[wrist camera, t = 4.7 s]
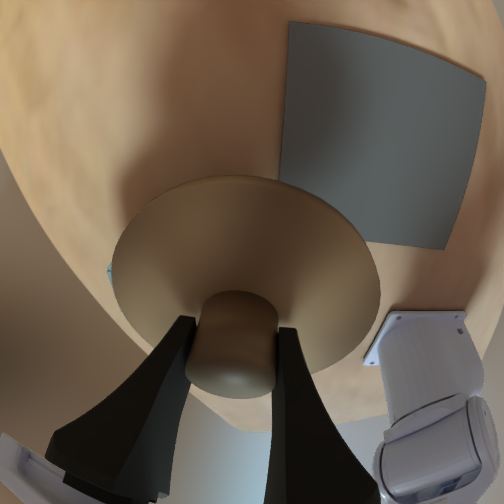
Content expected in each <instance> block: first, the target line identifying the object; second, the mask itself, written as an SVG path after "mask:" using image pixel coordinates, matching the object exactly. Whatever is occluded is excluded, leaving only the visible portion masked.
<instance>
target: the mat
mask: <svg viewBox="0 0 504 504" xmlns="http://www.w3.org/2000/svg"><path fill="white" fill-rule="evenodd" d="M485 92H486V81H484V80H482V79H480V78H479V77H477V76H475V75H473V74H471V73H469V72H467V71H465V70H463V69H461V68H459V67H457V66H455V65H453V64H451V63H449V62H446V61H444V60H442V59H440V58H437V57H435V56H432V55H430V54H427V53H425V52H422V51H420V50H417V49H414V48H411V47H408V46H405V45H402V44H399V43H396V42H393V41H390V40H386V39H383V38H379V37H376V36H372V35H368V34H364V33H360V32H355V31H351V30H346V29H341V28H335V27H330V26H323V25H317V24H309V23H301V22H289V41H288V60H287V77H286V93H285V109H284V123H283V137H282V150H281V163H280V175H279V181H281V182H284V183H287V184H290V185H293V186H296V187H299V188H302V189H304V190H306V191H308V192H310V193H312V194H314V195H316V196H318V197H320V198H321V199H323V200H324V201H326V202H327V203H329V204H330V205H331V206H333V207H334V208H336V209H337V210H338V211H340V212H341V213H342V214H343V215H344V216H345V217H346V218H347V219H348V220H349V221H350V222H351V223H352V224H353V225H354V227H355V228H356V229H357V231H358V232H359V233H360V235H361V236H362V237H363V239H364V241H368V242H378V243H387V244H396V245H405V246H413V247H422V248H430V249H438V250H444V249H445V247H446V244H447V242H448V239H449V237H450V234H451V231H452V229H453V226H454V223H455V221H456V218H457V215H458V212H459V209H460V206H461V203H462V200H463V197H464V194H465V191H466V187H467V184H468V180H469V177H470V173H471V169H472V165H473V161H474V157H475V153H476V148H477V144H478V139H479V133H480V128H481V122H482V116H483V109H484V101H485Z"/></svg>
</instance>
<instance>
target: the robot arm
mask: <svg viewBox="0 0 504 504" xmlns="http://www.w3.org/2000/svg"><path fill="white" fill-rule="evenodd" d="M466 315H467V314H466V312H465V311H392V312H390V313H389V314H388V316H387V318H386V320H385V322H384V324H383V326H382V328H381V330H380V331H379V333H378V335H377V337H376V339H375V341H374V342H373V344H372V346H371V348H370V349H369V351H368V353H367V355H366V356H365V358H364V360H363V365H365V366H371V365H380V370H381V375H382V380H383V385H384V390H385V396H386V402H387V408H388V414H389V420H390V427H391V428H390V429H388V430H386V431H384V441H383V442H381V443H380V444H379V446H378V448H377V450H376V452H375V456H374V459H373V463H372V476H373V477H372V476H371V475H370V474H369V473H368V472H367V471H366V469H365V468H364V467H363V466H362V465H361V463H360V462H359V461H358V459H357V458H356V457H355V455H354V454H353V453H352V451H351V450H350V448H349V447H348V445H347V444H346V442H345V441H344V439H342V437H341V435H340V433H339V432H338V430H337V429H336V427H335V425H334V423H333V422H332V420H331V418H330V416H329V414H328V412H327V411H326V409H325V407H324V405H323V403H322V400H321V398H320V396H319V394H318V392H317V390H316V387H315V385H314V382H313V380H312V377H311V375H310V372H309V369H308V367H307V364H306V361H305V358H304V355H303V352H302V348H301V345H300V341H299V337H298V332H297V329H296V328H290V327H279V330H278V339H277V368H276V384H275V387H274V389H273V390H272V440H271V450H270V459H269V468H268V476H267V484H266V491H265V498H264V504H381V497H380V493H381V495H382V496H383V497H384V499H385V501H386V503H387V504H477V503H476V502H477V501H478V500H479V499H480V497H481V496H482V495H483V494H484V493H485V492H486V490H487V489H488V488H489V487H490V486H491V484H492V483H493V482H494V480H495V479H496V477H497V474H498V470H499V467H500V453H499V449H498V439H497V433H496V429H495V424H494V421H493V418H492V415H491V412H490V409H489V407H488V405H487V403H486V401H485V400H484V399H483V398H481V397H478V396H479V395H480V393H481V390H482V387H483V382H484V370H483V365H482V362H481V360H480V357H479V355H478V352H477V350H476V348H475V345H474V343H473V341H472V339H471V336H470V334H469V332H468V330H467V328H466V326H465V324H464V322H463V320H464V319H465V317H466ZM196 329H197V325H196V318H195V317H191V316H185V315H180V316H178V318H177V319H176V321H175V322H174V323H173V325H172V326H171V328H170V329H169V330H168V332H167V333H166V334H165V336H164V337H163V338H162V340H161V341H160V342H159V343H158V345H157V346H156V347H155V348H154V350H153V351H152V352H151V353H150V355H149V356H148V357H147V358H146V359H145V360H144V361H143V363H142V364H141V365H140V366H139V367H138V368H137V369H136V370H135V371H134V372H133V373H132V375H130V376H129V377H128V378H127V379H126V380H125V381H124V382H123V383H122V384H121V385H120V386H119V387H118V388H117V389H116V390H115V391H113V392H112V393H111V394H110V395H109V396H108V397H106V398H105V399H104V400H103V401H101V402H100V403H99V404H98V405H96V406H95V407H93V408H92V409H91V410H89V411H88V412H86V413H85V414H83V415H82V416H80V417H79V418H77V419H76V420H74V421H72V422H70V423H69V424H67V425H65V426H64V427H62V428H60V429H58V430H56V431H55V432H54V434H53V436H52V437H51V440H50V443H49V445H48V448H47V451H46V454H45V458H46V459H45V458H43V457H41V456H40V455H38V454H37V453H35V452H34V451H32V450H31V449H29V448H27V447H26V446H23V445H22V444H20V443H18V442H17V441H15V440H14V439H13V438H11V437H10V436H8V435H7V434H6V433H2V435H1V438H0V481H1V482H2V483H3V484H4V485H6V486H7V487H8V488H9V489H10V490H11V491H12V492H13V493H14V494H15V495H16V496H17V497H18V498H19V499H20V500H21V501H22V502H23V503H25V504H148V503H149V502H152V503H156V502H157V498H165V497H167V496H168V495H169V491H170V480H171V471H172V463H173V455H174V449H175V443H176V437H177V432H178V426H179V421H180V418H181V414H182V411H183V407H184V404H185V401H186V398H187V395H188V392H189V389H190V385H191V382H190V381H189V379H188V378H187V377H186V374H185V367H186V364H187V360H188V357H189V353H190V349H191V346H192V342H193V339H194V335H195V332H196ZM47 460H48V461H49V462H51V463H52V464H54V465H56V466H58V467H59V468H61V469H63V470H64V471H66V472H64V471H63V470H61V469H59V468H57V467H56V466H54V465H52V464H51V463H49V462H48V461H47Z"/></svg>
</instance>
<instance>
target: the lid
mask: <svg viewBox="0 0 504 504" xmlns="http://www.w3.org/2000/svg"><path fill="white" fill-rule="evenodd" d="M111 277H112V285H113V290H114V294H115V297H116V299H117V302H118V304H119V307H120V309H121V310H122V312H123V314H124V316H125V317H126V319H127V320H128V322H129V323H130V324H131V326H132V327H133V328H134V329H135V330H136V332H137V333H138V334H139V335H140V336H141V337H142V338H143V339H144V340H145V341H146V342H148V343H149V344H150V345H151V346H152V347H154V348H155V347H156V346H157V345H158V343H159V342H160V341H161V340H162V338H163V337H164V336H165V334H166V333H167V332H168V330H169V329H170V328H171V326H172V325H173V323H174V322H175V321H176V319H177V318H178V316H180V315H185V316H191V317H195V318H196V325H197V329H196V332H195V335H194V339H193V342H192V346H191V349H190V353H189V357H188V360H187V364H186V367H185V374H186V377H187V378H188V379H189V381H190V382H191V383H192V384H194V385H195V386H196V387H198V388H200V389H202V390H204V391H206V392H208V393H211V394H214V395H217V396H221V397H226V398H233V399H250V398H256V397H260V396H263V395H266V394H268V393H269V392H271V391H272V390H273V389H274V387H275V384H276V368H277V339H278V330H279V327H290V328H296V329H297V332H298V337H299V341H300V345H301V348H302V352H303V355H304V358H305V361H306V364H307V367H308V369H309V372H310V374H313V373H315V372H318V371H321V370H323V369H325V368H327V367H329V366H331V365H333V364H335V363H336V362H338V361H340V360H341V359H343V358H344V357H346V356H347V355H348V354H349V353H350V352H352V351H353V350H354V349H355V348H356V347H357V346H358V345H359V344H360V343H361V342H362V341H363V339H364V338H365V337H366V335H367V334H368V332H369V331H370V329H371V327H372V325H373V323H374V321H375V319H376V316H377V313H378V310H379V305H380V296H381V292H380V280H379V276H378V272H377V269H376V265H375V263H374V260H373V258H372V255H371V253H370V251H369V249H368V247H367V245H366V243H365V241H364V239H363V237H362V236H361V235H360V233H359V232H358V231H357V229H356V228H355V227H354V225H353V224H352V223H351V222H350V221H349V220H348V219H347V218H346V217H345V216H344V215H343V214H342V213H341V212H340V211H338V210H337V209H336V208H334V207H333V206H331V205H330V204H329V203H327V202H326V201H324V200H323V199H321V198H320V197H318V196H316V195H314V194H312V193H310V192H308V191H306V190H304V189H302V188H299V187H296V186H293V185H290V184H287V183H284V182H281V181H277V180H272V179H267V178H262V177H256V176H240V175H227V176H216V177H207V178H203V179H199V180H195V181H190V182H187V183H184V184H182V185H179V186H177V187H175V188H172V189H170V190H168V191H166V192H165V193H163V194H161V195H160V196H158V197H156V198H155V199H153V200H152V201H151V202H150V203H149V204H147V205H146V206H145V207H144V208H143V209H142V210H141V211H140V212H139V213H138V214H137V215H136V217H135V218H134V219H133V220H132V221H131V222H130V224H129V225H128V226H127V228H126V229H125V230H124V232H123V233H122V235H121V237H120V239H119V241H118V243H117V245H116V247H115V251H114V254H113V258H112V266H111Z"/></svg>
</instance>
